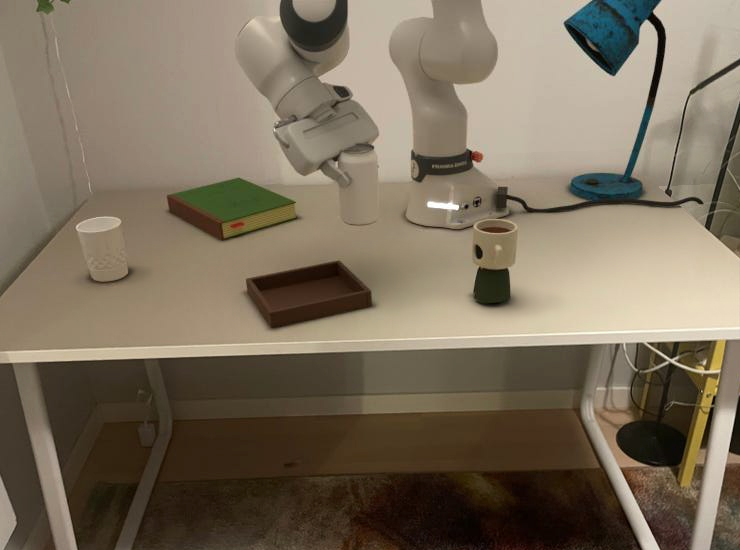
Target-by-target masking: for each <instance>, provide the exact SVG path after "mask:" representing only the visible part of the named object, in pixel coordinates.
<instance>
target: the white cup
mask: <svg viewBox="0 0 740 550" xmlns="http://www.w3.org/2000/svg"><path fill="white" fill-rule="evenodd" d="M122 223H123V222H122V220H121V219H120V218H118V217H115V216H98V217H92V218H88V219H85V220H82V221H81V222H79V223H78V224H76V226H75V229H76V233H77V236H78V240H79V244H80V246H81V250H82V253H83V255H84V259H85V263H86V264H87V266H88V271H89V274H90V277H91V279H92V280H94V281H95V282H100V283H101V282H103V283H105V282H113V281H114V282H115V281H117V280H120V279H122V278H125V277H126V276H127V275H129V267H128V266H129V265H128V260H127V259H128V255H127V249H126V242H125V236H124V230H123V224H122Z"/></svg>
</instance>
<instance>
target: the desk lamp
mask: <svg viewBox="0 0 740 550" xmlns="http://www.w3.org/2000/svg"><path fill="white" fill-rule="evenodd" d="M661 2H662V0H590V1H589V2H588V3H587V4H585V5H584V6H582V7H580V9H579V10H578V11H576V12H575V13H573V14H572V15H570V16H569V17H568V18H567V19H565V21H563V26H564V29H565V30H566V32H567V33H568V35H569V36H570V37H571V38H572V40H573V41H574V42H575V44H576V45H577V46H578V47H579V48H580V49H581V50H582V51H583V53H585V54H586V56H587V57H588V58H589V59H591V60H592V61H593V63H594V64H596V65H597V66H598V67H599V68H600V69H601V70H602V71H604V72H605V73H606V74H608V75H609V76H611V77H616V75H617V74H618V72H619V71H620V70H621V69H622V67H623V66H624V64H626V62H627V60H628V59H629V58H630V56H631V55H632V53H633V52H634V51H635V50H636V48H637V47H638V46H639V44H640V32H641V27H642V25H643V24H644V23H645V22H646V21H648V22H649V23H650V24H651V25H652V26H653V28H654V29H655V32H656V35H657V37H656V38H657V44H656V45H657V46H656V54H655V55H656V56H655V62H654V68H653V74H652V77H651V82H650V87H649V90H648V95H647V100H646V104H645V107H644V110H643V115H642V117H641V121H640V125H639V127H638V130H637V135H636V137H635V141H634V144H633V147H632V150H631V153H630V156H629V159H628V162H627V165H626V167H625V170H624V173H623V174H620V173H614V172H613V173H612V172H591V173H584V174H580V175H576V176H575V177H573V178H572V179H571V181H570V186H569V191H570V192H571V194H573V195H574V196H577V197H578V198H582V199H584V200H587V201H591V200H600V199H639V198H640V197H641V195H642V194H643V182H642V181H641V180H640V179H637V178H636V177H633V176H632V175H633V172H634V169H635V167H636V164H637V161H638V157H639V155H640V152H641V149H642V145H643V143H644V140H645V136H646V133H647V130H648V126H649V124H650V120H651V116H652V114H653V110H654V107H655V104H656V103H655V102H656V98H657V95H658V90H659V85H660V82H661V77H662V73H663V67H664V61H665V55H666V45H667V33H666V28H665V26H664V24H663V22H662V21H661V19H660V18H659V17H658V16H657V15H656V14H655V13H654V10H656V8H657V7H658V6H659V4H660V3H661Z"/></svg>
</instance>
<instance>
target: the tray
mask: <svg viewBox="0 0 740 550" xmlns="http://www.w3.org/2000/svg"><path fill="white" fill-rule="evenodd" d="M245 284H246V285H245V286H246V293H247V295H248V296H249V298H250V299H251V301H252V302H253V303H254V305H255V306H256V308H257V309H258V311H259V312H260V313H261V315H262V317H263V318H264V320H265V321H266V323H267V324H268V326H269V327H270V329H274V328H275V329H276V328H280V327H284V326H289V325H293V324H297V323H302V322H307V321H311V320H316V319H320V318H324V317H328V316H333V315H339V314H343V313H347V312H351V311H356V310H361V309H365V308H368V307H372V306H373V303H372V299H373V298H372V290H371V289H370V288H369V287H368V286H367V285H366V284H364V282H363V281H361V280H360V279H359V278H358V277H357V275H355V274H354V272H352V271H351V270H350V269H349V268H348V267H347V266H346V264H344V263H343V262H342V261H341V260H334V261H329V262H328V261H327V262H324V263H318V264H314V265H307V266H303V267H299V268H293V269H288V270H283V271H278V272H273V273H268V274H263V275H258V276H252V277H247V278H245Z"/></svg>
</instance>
